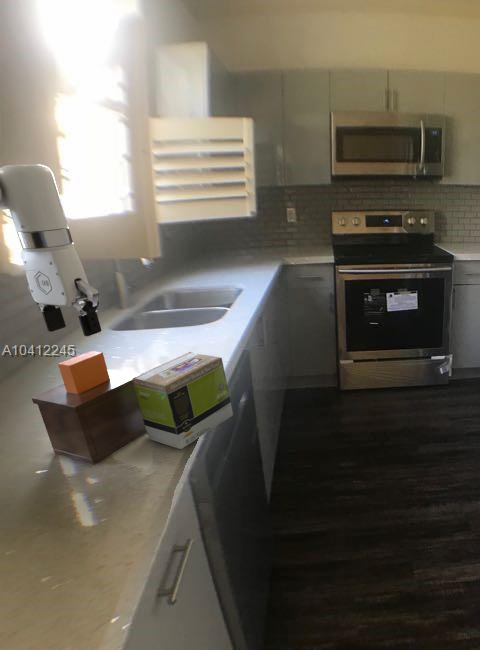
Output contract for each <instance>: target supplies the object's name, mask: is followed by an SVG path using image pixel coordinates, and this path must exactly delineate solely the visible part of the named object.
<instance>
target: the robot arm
mask: <svg viewBox="0 0 480 650" xmlns="http://www.w3.org/2000/svg"><path fill="white" fill-rule="evenodd" d="M61 200H62V199H61V196H60V193H59V189H58V186H57V182H56V179H55V176H54V173H53V171H52V170H51V168H49V167H48V166H46V165H43V164H32V163H31V164H8V165H3V166H1V167H0V211H3V210H9V212H10V216H11V219H12V222H13V226H14V228H15V231H16V234H17V237H18V239H19V242H20V246H21V254H22V262H23V268H24V272H25V276H26V280H27V283H28V286H27V290H28V291H29V293H30V295H31V297H32V300H33V301H34V302H35V304H37V305H38V310H39V311H40V312H41V314H42V317H43V320H44V323H45V327H46V329H47V331H48V332H51V333H52V332H55V331H58V330H61V329H65V328H66V327H67V325H66V321H65V319H64V316H63V312H62V308H61V307H70V306H71V305H72V306H73V308H74V309H75V310H76V312H78V313H79V314H80V315H78V316H77V317H78V320H79V323H80V327H81V331H82V334H83V336H84V337H91V336H94V335H96V334H99V333H101V332H102V327H101V322H100V319H99V317H98V313H97V312H98V311H99V308H98V307H99V305H100V302H99V298H100V293H99V290H98V289H96V288H94V287H93V286H92V285H90V284H89V280H88V278H87V275H86V272H85V269H84V266H83V263H82V261H81V258H80V257H79V255H78V252H77V250H76V248H75V245H74V241H73V237H72V234H71V231H70V228H69V224H68V220H67V216H66V214H65V210H64V206H63V203H62V201H61ZM82 304H84V305H82Z"/></svg>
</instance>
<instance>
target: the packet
mask: <svg viewBox="0 0 480 650" xmlns="http://www.w3.org/2000/svg"><path fill="white" fill-rule="evenodd" d="M57 366H58V369H59V372H60V375H61V378H62V383H63V384H64V385H65V388H66V391H67V392H69V393H74V394H80V393H82V392H84V391H87V390H89V389H91V388H93V387H95V386H97V385H99V384H102V383H104V382H106V381H108V380H110V377H109V374H108V370H107V369H108V367H107V364H106V359H105V355H104V352H102V351H96V350H90V351H87V352H84V353H81V354H79V355H77V356H75V357H72V358H69V359H67V360H66V359H65V360H63V361H61V362H58V363H57Z"/></svg>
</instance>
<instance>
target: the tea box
mask: <svg viewBox="0 0 480 650" xmlns="http://www.w3.org/2000/svg"><path fill="white" fill-rule="evenodd" d="M132 380H133V384H134V388H135V391H136V395H137V398H138V402H139V405H140V409H141V413H142V417H143V421H144V424H145V427H146V431H147V432H146V433H147V434H146V435H147V437H148V439H149V440H150V441H154V442H157V443H160V444H163V445H165V446H169V447H172V448H176V449H179V450H182V449H184V448H185V447H187V446H188V445H190V444H192V443H193V442H195V441H196V440H198V439H199V438H201V437H202V436H204V435H205V434H206V433H208V432H210V431H212V430H213V429H215V428H216V427H218V426H220V425H221V424H222V423H224V422H226V421H227V420H229V419H230V418H231V417H233V416H234V412H233V407H232V402H231V397H230V392H229V386H228V381H227V377H226V372H225V366H224V362H223V358H222V357H220V356H213V355H209V354H208V355H207V354H202V353H196V352H192V351H189V352H187V353H184V354H182V355H179V356H177V357H176V358H173V359H171V360H169V361H167V362H164V363H162V364H160V365H157V366H155V367H153V368H151V369H149V370H146V371H144V372H143V373H140V375H138V376H136V377H133V378H132Z"/></svg>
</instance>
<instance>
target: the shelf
mask: <svg viewBox="0 0 480 650" xmlns="http://www.w3.org/2000/svg"><path fill="white" fill-rule="evenodd" d="M107 370H108V374H109V377H110V380H108V381H106V382H104V383H102V384H99V385H97V386H95V387H93V388H91V389H89V390H87V391H84V392H82V393H80V394H74V393H69V392H67V391H66V388H65V385H64V383H62V384H60V385H57V386H56V387H53V388H51V389H49V390H46V391H44V392H42V393H39V394H37V395H34V396H33V397H32V396H31V402H32V403H33V404H35V405H37V407H38V410H39V412H40V415H41V419H42V422H43V424H44V427H45V430H46V433H47V435H48V437H49V442H50V444H51V447H52V451H53V452H54V455H58V456H61V457H65V458H68V459H73V460H75V461H78V462H83V463H86V464H90V465H95V464H97V463H98V462H100V461H102V460H103V459H105V458H107V457H108V456H110V455H112V454H113V453H114V452H116V451H118V450H120V449H121V448H123V447H124V446H126V445H127V444H129V443H131V442H132V441H134V440H135V439H137V438H139V437H140V436H142V435H143V434H146V433H147V431H146V427H145V424H144V421H143V417H142V413H141V409H140V405H139V402H138V398H137V395H136V391H135V388H134V384H133V380H132V378H133V377H136V376H138V375H140V374H141V373H140V374H139V373H133V372H128V371H121V370H116V369H109V368H107Z"/></svg>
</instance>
